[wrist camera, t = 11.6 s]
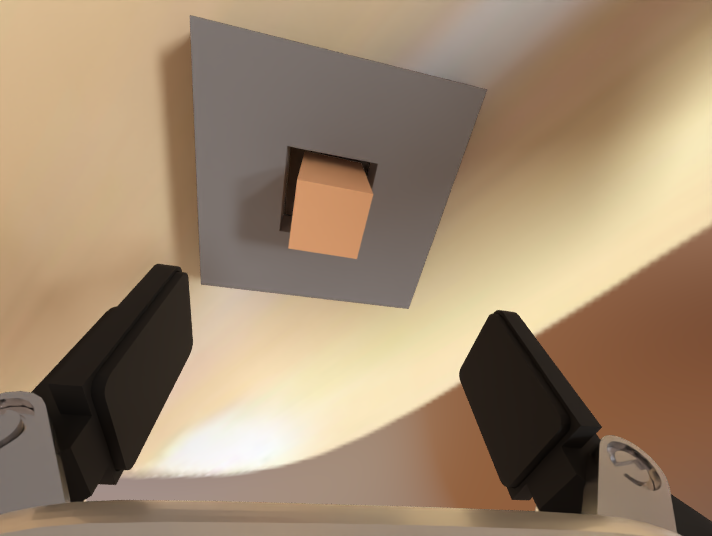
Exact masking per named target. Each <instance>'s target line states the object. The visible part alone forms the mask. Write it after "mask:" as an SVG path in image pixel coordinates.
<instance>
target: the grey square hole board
mask: <svg viewBox="0 0 712 536" xmlns="http://www.w3.org/2000/svg"><path fill="white" fill-rule="evenodd" d="M190 33H191V57H192V81H193V105H194V129H195V153H196V177H197V201H198V225H199V249H200V273H201V284H202V285H210V286H219V287H227V288H236V289H244V290H253V291H261V292H270V293H278V294H287V295H295V296H304V297H312V298H321V299H329V300H338V301H346V302H355V303H363V304H372V305H380V306H389V307H397V308H406V309H409V306H410V303H411V300H412V298H413V295H414V292H415V289H416V287H417V284H418V281H419V278H420V275H421V273H422V270H423V267H424V264H425V261H426V259H427V256H428V253H429V250H430V247H431V245H432V242H433V239H434V236H435V233H436V231H437V228H438V225H439V222H440V220H441V217H442V214H443V211H444V208H445V206H446V203H447V200H448V197H449V194H450V192H451V189H452V186H453V183H454V180H455V178H456V175H457V172H458V169H459V166H460V164H461V161H462V158H463V155H464V153H465V150H466V147H467V144H468V141H469V139H470V136H471V133H472V130H473V127H474V125H475V122H476V119H477V116H478V113H479V111H480V108H481V105H482V102H483V99H484V97H485V94H486V91H487V89H483V88H479V87H475V86H471V85H467V84H463V83H459V82H455V81H451V80H447V79H443V78H439V77H435V76H431V75H427V74H423V73H419V72H415V71H411V70H407V69H403V68H399V67H395V66H391V65H387V64H383V63H379V62H375V61H371V60H367V59H363V58H359V57H355V56H351V55H347V54H343V53H339V52H335V51H331V50H327V49H323V48H319V47H315V46H311V45H307V44H303V43H299V42H295V41H291V40H287V39H283V38H279V37H275V36H271V35H267V34H263V33H259V32H255V31H251V30H247V29H243V28H239V27H235V26H231V25H227V24H223V23H219V22H215V21H211V20H207V19H203V18H199V17H195V16H191V15H190ZM291 147H295V148H300V149H305V150H310V151H315V152H320V153H326V154H331V155H336V156H341V157H346V158H351V159H356V160H362V161H367V162H370V166H369V170H368V175H367V179H368V182H369V184H370V187H371V189H372V192H373V198H372V201H371V205H370V209H369V213H368V217H367V221H366V225H365V229H364V233H363V237H362V241H361V245H360V249H359V253H358V257H357V259H353V258H347V257H340V256H334V255H327V254H321V253H314V252H308V251H302V250H295V249H289V248H288V246H289V239H290V231H291V223H292V216H290V215H284V211H285V201H286V191H287V181H288V171H289V161H290V151H291Z"/></svg>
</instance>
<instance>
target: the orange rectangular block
mask: <svg viewBox="0 0 712 536" xmlns="http://www.w3.org/2000/svg"><path fill="white" fill-rule="evenodd" d="M372 198H373V192H372V189H371V187H370V184H369V182H368V179H367V177H366V174H365V171H364V169H363V166H362V164H361V163H360V162H355V161H351V160H346V159H341V158H336V157H332V156H327V155H322V154H317V153H313V152H308V151H305V153H304V156H303V160H302V164H301V167H300V171H299V175H298V179H297V185H296V193H295V201H294V208H293V216H292V223H291V231H290V239H289V246H288V248H289V249H295V250H302V251H308V252H314V253H321V254H327V255H334V256H340V257H347V258H353V259H357V257H358V253H359V249H360V245H361V241H362V237H363V233H364V229H365V225H366V221H367V217H368V213H369V209H370V205H371V201H372Z"/></svg>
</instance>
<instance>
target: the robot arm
mask: <svg viewBox="0 0 712 536" xmlns="http://www.w3.org/2000/svg"><path fill="white" fill-rule="evenodd" d="M192 345H193V337H192V323H191V309H190V295H189V281H188V275H187V273H184V272H182V270H181V268H180V267H178V266H170V265H163V264H156V265H155V266H154V267H153V268H152V269H151V270H150V271H149V272H148V273H147V274H146V275H145V277H144V278H143V279H142V280H141V281H140V282H139V283H138V284H137V285H136V286H135V288H134V289H133V290H132V291H131V292H130V293H129V294H128V295H127V296H126V297H125V299H124V300H123V301H122V302H121V303H120V304H119V305H118V306H117V307H113V308H111V309H109V310H108V311H107V312H106V313H105V314H104V315H103V316H102V317H101V318H100V319H99V320H98V321H97V323H96V324H95V325H94V326H93V327H92V328H91V329H90V330H89V331H88V332H87V333H86V334H85V335H84V336H83V338H82V339H81V340H80V341H79V342H78V343H77V344H76V345H75V346H74V347H73V348H72V349H71V350H70V351H69V353H68V354H67V355H66V356H65V357H64V358H63V359H62V360H61V361H60V362H59V363H58V364H57V365H56V366H55V367H54V369H53V370H52V371H51V372H50V373H49V374H48V375H47V376H46V377H45V378H44V379H43V380H42V381H41V382H40V384H39V385H38V386H37V387H36V388H35V389H34V390H33V391H32V392H31V393H30V392H23V391H17V392H5V393H1V394H0V536H712V522H711V521H710V520H708V519H707V518H705V517H704V516H703V515H701V514H700V513H698V512H697V511H695V510H694V509H692V508H691V507H689V506H688V505H686V504H684V503H683V502H682V501H680V500H679V499H677V498H676V497H674V496H673V495H671V494H670V488H669V484H668V482H667V479H666V477H665V475H664V474H663V472H662V471H661V469H660V468H659V467H658V465H657V464H656V463H655V462H654V461H653V460H652V459H651V458H650V457H649V456H648V455H647V454H646V453H645V452H643V451H642V450H641V449H640V448H638V447H637V446H635V445H634V444H632V443H631V442H629V441H627V440H625V439H623V438H620V437H616V436H605V437H603V438H602V439H599V437H598V436H597V435H596V433H597V432H598V431H599V430H600V429H601V428H602V427H601V425H600V424H599V423H598V421H597V420H596V419H595V417H594V416H593V415H592V413H591V412H590V410H589V409H588V408H587V407H586V405H585V404H584V402H583V401H582V400H581V399H580V397H579V396H578V394H577V393H576V392H575V390H574V389H573V388H572V386H571V385H570V384H569V382H568V381H567V380H566V378H565V377H564V376H563V374H562V373H561V371H560V370H559V369H558V368H557V366H556V365H555V363H554V362H553V361H552V359H551V358H550V357H549V355H548V354H547V353H546V351H545V350H544V349H543V347H542V346H541V345H540V343H539V342H538V341H537V339H536V338H535V337H534V335H533V334H532V332H531V331H530V330H529V328H528V327H527V326H526V324H525V323H524V322H523V320H522V319H521V318H520V316H519V315H518V314H517V313H515V312H509V311H502V310H497V311H495V312H494V314H491V315H489V317H488V318H487V320H486V322H485V324H484V326H483V328H482V330H481V331H480V333H479V335H478V337H477V339H476V341H475V343H474V344H473V346H472V348H471V350H470V352H469V354H468V356H467V358H466V359H465V361H464V363H463V365H462V367H461V369H460V373H459V377H460V381H461V384H462V386H463V389H464V391H465V394H466V396H467V399H468V401H469V404H470V406H471V409H472V411H473V414H474V416H475V419H476V421H477V424H478V426H479V429H480V431H481V434H482V436H483V438H484V441H485V444H486V446H487V448H488V451H489V454H490V456H491V459H492V461H493V463H494V466H495V468H496V471H497V473H498V476H499V478H500V481H501V482H502V484H503V485H504V486H506V487H507V489H508V491H509V494H510V496H511V498H512V500H530V499H531V498H532V497H533V499H534V501H535V503H536V510H535V511H513V510H487V509H461V508H432V507H402V506H371V505H340V504H339V505H338V504H306V503H267V502H231V501H169V500H168V501H167V500H164V501H163V500H162V501H161V500H111V501H86V499H87V498H88V497H90V496H92V494H93V492H94V490H95V489H96V487H97V485H98V484H108V485H116V484H117V482H118V480H119V478H120V476H121V474H122V472H123V470H130V469H131V468H132V467H133V465H134V464H135V462H136V460H137V458H138V456H139V454H140V452H141V450H142V448H143V446H144V444H145V442H146V440H147V438H148V436H149V434H150V432H151V430H152V428H153V426H154V424H155V422H156V420H157V418H158V416H159V414H160V412H161V411H162V409H163V407H164V405H165V403H166V401H167V399H168V397H169V395H170V393H171V391H172V389H173V387H174V385H175V383H176V381H177V379H178V377H179V375H180V373H181V371H182V369H183V367H184V365H185V363H186V361H187V359H188V357H189V355H190V353H191V350H192Z"/></svg>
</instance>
